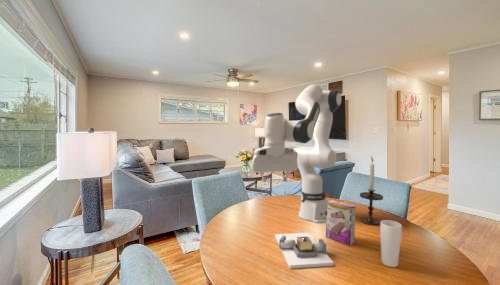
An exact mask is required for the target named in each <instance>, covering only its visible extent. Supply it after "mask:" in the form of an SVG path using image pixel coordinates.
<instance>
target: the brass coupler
mask: <svg viewBox="0 0 500 285" xmlns="http://www.w3.org/2000/svg"><path fill="white" fill-rule="evenodd" d="M297 250H298V252H299V253H305V252H312V241H311V240H310V239H309V237H308V236H306V237H297Z"/></svg>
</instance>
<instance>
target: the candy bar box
mask: <svg viewBox="0 0 500 285" xmlns="http://www.w3.org/2000/svg"><path fill="white" fill-rule="evenodd" d="M356 207H357V206H356V205H353V204H349V203H347V202H346V203H345V202H341V201H338V200H333V199H330V200H328V202H327V217H326V218H327V219H326V222H325V223H326V225H325V238H328V239H330V240H333V241H336V242H339V243H341V244H343V245H347V246H349V247H350V246H352V245H353V244H354V243H355V237H356V235H355V234H356V232H355V231H356Z"/></svg>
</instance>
